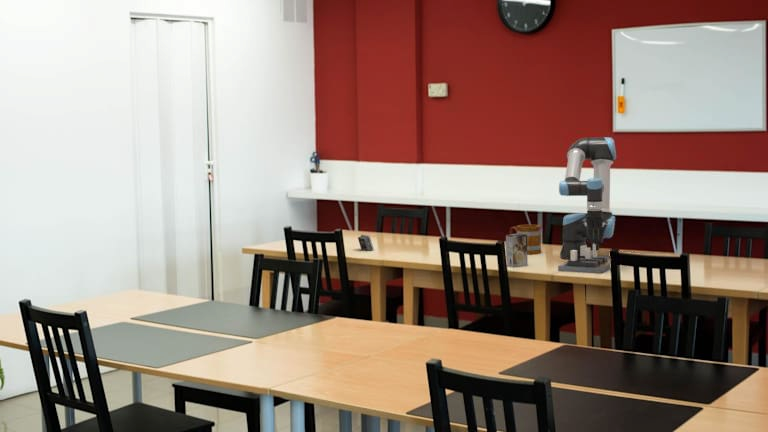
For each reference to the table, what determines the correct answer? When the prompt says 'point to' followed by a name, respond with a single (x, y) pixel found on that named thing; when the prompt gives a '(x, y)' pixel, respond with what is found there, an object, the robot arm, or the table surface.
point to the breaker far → (582, 250)
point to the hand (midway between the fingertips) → (594, 256)
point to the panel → (584, 269)
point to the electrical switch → (365, 242)
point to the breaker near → (573, 255)
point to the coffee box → (516, 250)
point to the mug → (530, 237)
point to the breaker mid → (588, 253)
